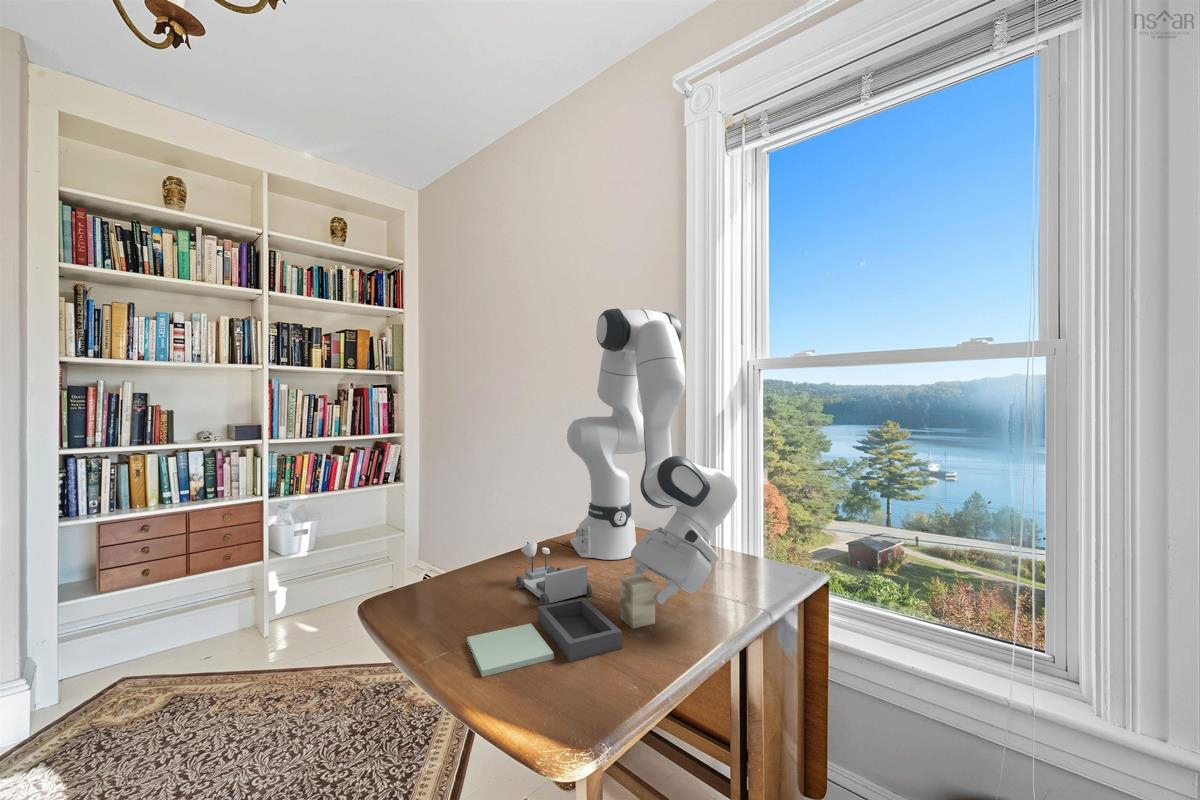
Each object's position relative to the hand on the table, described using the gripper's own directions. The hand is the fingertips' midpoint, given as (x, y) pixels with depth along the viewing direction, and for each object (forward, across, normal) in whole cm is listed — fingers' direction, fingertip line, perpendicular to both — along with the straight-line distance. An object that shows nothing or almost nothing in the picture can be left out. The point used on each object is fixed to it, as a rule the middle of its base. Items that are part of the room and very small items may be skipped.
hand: (644, 592), depth 96 cm
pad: (+23, 0, -16) cm, 28 cm away
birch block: (+5, 0, +3) cm, 6 cm away
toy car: (+12, -22, -4) cm, 26 cm away
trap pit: (+14, 0, -6) cm, 15 cm away
